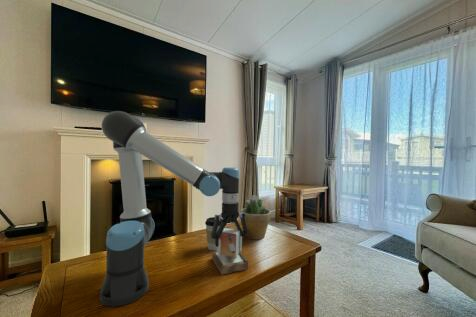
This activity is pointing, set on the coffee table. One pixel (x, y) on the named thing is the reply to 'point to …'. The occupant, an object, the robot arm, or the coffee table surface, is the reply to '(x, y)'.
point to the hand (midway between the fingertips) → (229, 251)
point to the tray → (230, 263)
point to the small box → (230, 242)
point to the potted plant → (256, 218)
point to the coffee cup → (209, 228)
